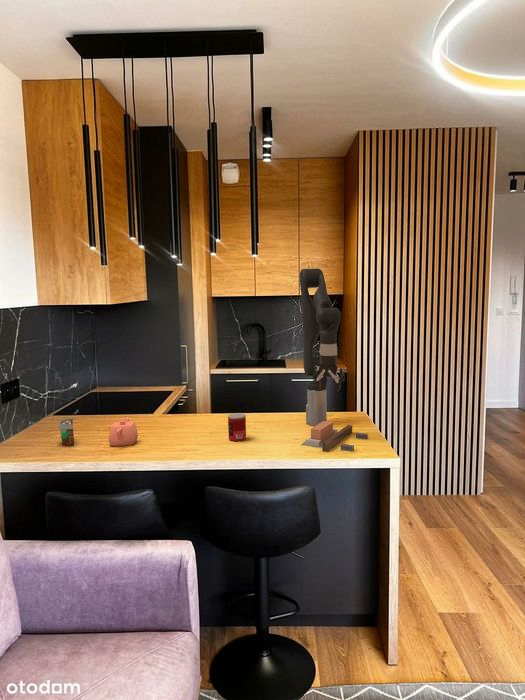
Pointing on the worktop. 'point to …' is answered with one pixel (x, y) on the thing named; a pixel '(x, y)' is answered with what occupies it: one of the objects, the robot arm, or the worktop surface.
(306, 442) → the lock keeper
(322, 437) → the bar
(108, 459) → the worktop surface
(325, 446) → the door edge
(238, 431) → the canned food
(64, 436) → the food container
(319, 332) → the robot arm
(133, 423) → the teapot
